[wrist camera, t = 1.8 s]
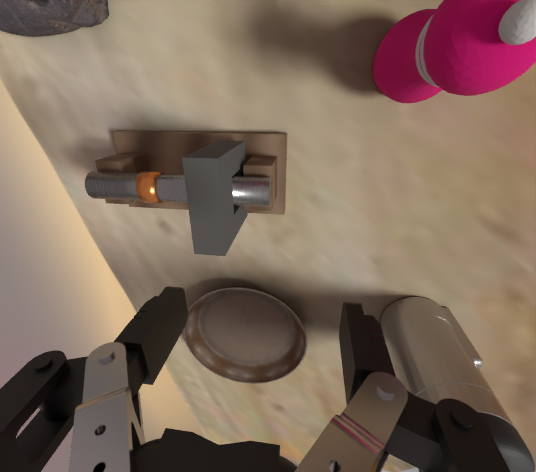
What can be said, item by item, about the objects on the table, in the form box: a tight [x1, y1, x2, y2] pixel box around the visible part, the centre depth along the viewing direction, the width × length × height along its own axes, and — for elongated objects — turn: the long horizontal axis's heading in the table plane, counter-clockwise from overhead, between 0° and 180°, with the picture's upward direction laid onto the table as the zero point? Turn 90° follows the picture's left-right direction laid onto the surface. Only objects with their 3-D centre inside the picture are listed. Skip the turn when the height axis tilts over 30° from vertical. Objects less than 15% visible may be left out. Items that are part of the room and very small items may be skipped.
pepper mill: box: [372, 0, 536, 103], centre depth 21 cm, size 7×7×20 cm
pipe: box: [85, 171, 272, 207], centre depth 31 cm, size 20×3×3 cm, turn 90°
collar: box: [182, 140, 248, 256], centre depth 30 cm, size 3×9×10 cm, turn 0°
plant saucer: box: [183, 287, 307, 384], centre depth 48 cm, size 21×21×3 cm
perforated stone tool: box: [0, 0, 109, 37], centre depth 29 cm, size 15×5×7 cm, turn 97°
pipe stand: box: [95, 131, 287, 214], centre depth 35 cm, size 22×10×7 cm, turn 90°
